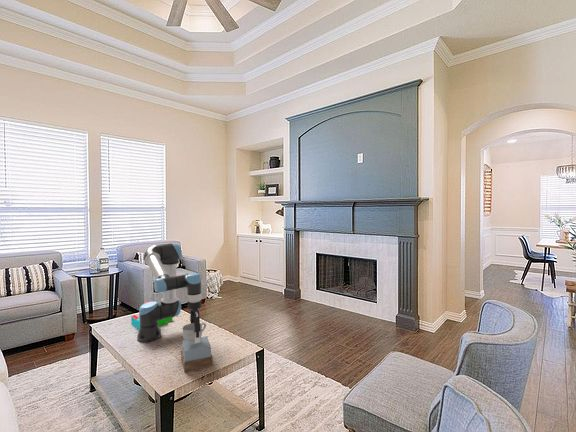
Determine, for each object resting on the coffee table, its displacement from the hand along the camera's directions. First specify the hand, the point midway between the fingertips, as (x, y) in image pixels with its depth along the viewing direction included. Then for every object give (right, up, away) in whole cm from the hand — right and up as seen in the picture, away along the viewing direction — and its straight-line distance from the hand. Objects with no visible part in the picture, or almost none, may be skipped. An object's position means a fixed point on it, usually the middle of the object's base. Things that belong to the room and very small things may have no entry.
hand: (195, 338), depth 174 cm
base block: (0, -15, +1) cm, 15 cm away
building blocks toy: (-52, -13, +61) cm, 81 cm away
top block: (+1, -9, 0) cm, 9 cm away
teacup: (0, 0, 0) cm, 0 cm away
